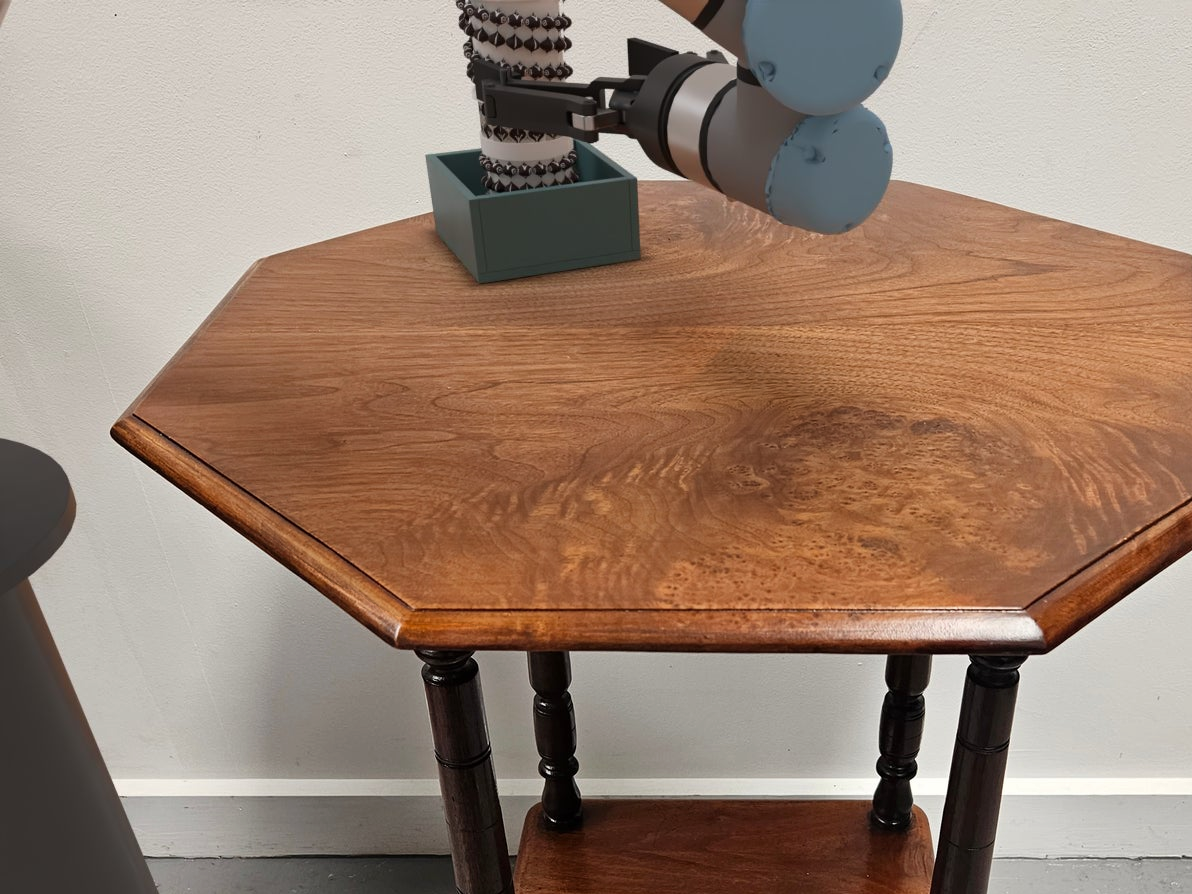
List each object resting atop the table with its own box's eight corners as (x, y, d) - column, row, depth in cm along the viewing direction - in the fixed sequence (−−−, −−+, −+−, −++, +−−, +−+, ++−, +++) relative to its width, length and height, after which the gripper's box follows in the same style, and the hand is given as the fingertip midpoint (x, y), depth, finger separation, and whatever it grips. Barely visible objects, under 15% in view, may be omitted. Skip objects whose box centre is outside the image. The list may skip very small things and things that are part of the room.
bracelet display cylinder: (515, 215, 117) (481, -104, 101) (604, 227, 114) (584, -100, 98) (464, 246, 110) (420, -91, 94) (558, 259, 107) (528, -86, 92)
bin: (479, 284, 105) (468, 199, 101) (436, 232, 115) (424, 154, 111) (641, 259, 110) (637, 177, 105) (585, 212, 120) (580, 136, 116)
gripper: (550, 214, 81) (417, 143, 95) (849, 154, 92) (691, 97, 106) (540, 88, 77) (400, 32, 90) (855, 40, 88) (689, -4, 101)
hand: (557, 67), depth 98 cm, fingers open, 13 cm apart
